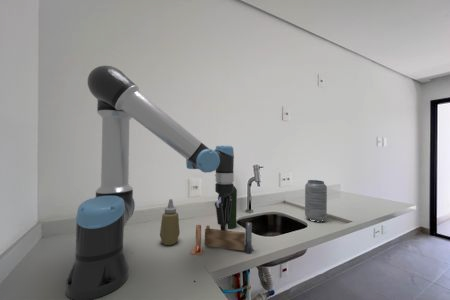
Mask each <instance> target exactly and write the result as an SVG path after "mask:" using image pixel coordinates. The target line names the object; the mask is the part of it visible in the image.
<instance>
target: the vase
mask: <svg viewBox="0 0 450 300" xmlns="http://www.w3.org/2000/svg"><path fill="white" fill-rule="evenodd" d="M327 187H328V186H327V185H326V183H325V182H324V180H317V179H308V180H307V182H306V183H305V186H304V189H305V190H304V216H305V218H307V220H308V219H311V220H315V221H322V220H324V221H326V220H327V217H328V215H327V214H328V213H327V210H328V209H327V208H328V204H327V203H328V198H327V197H328V192H327V191H328V188H327Z"/></svg>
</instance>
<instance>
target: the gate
mask: <svg viewBox="0 0 450 300" xmlns="http://www.w3.org/2000/svg"><path fill="white" fill-rule="evenodd" d="M204 246H209V247H215V248H216V247H217V248H222V249H223V248H224V249H231V250H238V251H243V250H244V249H245V232H242V231H237V230H236V231H235V230H234V231H233V230H228V231H227V230H221V229H218V228H211V226H210V225H206V226H205V228H204Z"/></svg>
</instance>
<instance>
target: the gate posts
mask: <svg viewBox="0 0 450 300" xmlns="http://www.w3.org/2000/svg"><path fill="white" fill-rule="evenodd" d="M252 229H253V223H252V222H250V221H248V222H245V249H244V250H242V251H243V252H244V253H246V254H248V255H249V254H252V252H254V251H255V249H254V246H253V245H252V241H253V239H252V237H253V235H252V233H253V231H252ZM191 254H193V255H195V256H199V255H203V247H202V224H196V225H195V247H191V251H190V255H191ZM193 255H192V256H193Z"/></svg>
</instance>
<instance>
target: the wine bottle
mask: <svg viewBox="0 0 450 300" xmlns="http://www.w3.org/2000/svg"><path fill="white" fill-rule="evenodd" d="M230 197H233V199H232V206H231V216H230V220H229V222H230V224H229V223H227V224H228V230H233V229H235V228H236V227H237V208H238V207H237V205H238V204H237V203H238V198H237V197H238V190H237V188H236V186H235V185H234V184H233V192H232V193H230Z"/></svg>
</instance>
